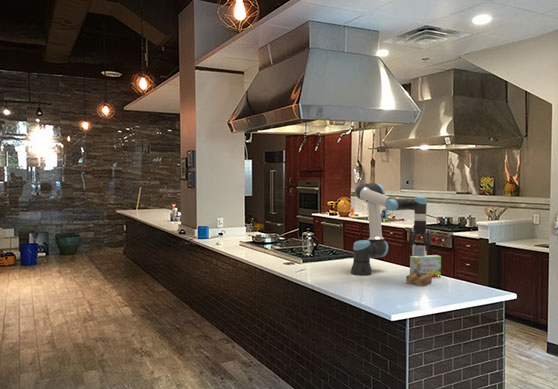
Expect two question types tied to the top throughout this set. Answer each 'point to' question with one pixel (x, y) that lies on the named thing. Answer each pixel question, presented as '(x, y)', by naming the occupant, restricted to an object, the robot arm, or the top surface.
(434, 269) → the snack box
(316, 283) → the top surface
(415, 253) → the cap
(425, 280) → the block
